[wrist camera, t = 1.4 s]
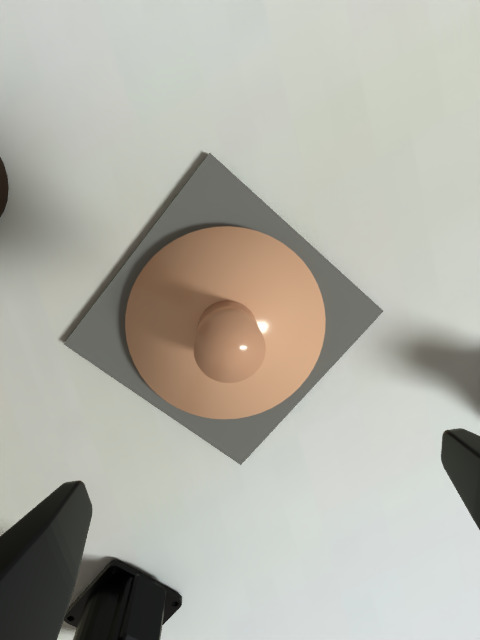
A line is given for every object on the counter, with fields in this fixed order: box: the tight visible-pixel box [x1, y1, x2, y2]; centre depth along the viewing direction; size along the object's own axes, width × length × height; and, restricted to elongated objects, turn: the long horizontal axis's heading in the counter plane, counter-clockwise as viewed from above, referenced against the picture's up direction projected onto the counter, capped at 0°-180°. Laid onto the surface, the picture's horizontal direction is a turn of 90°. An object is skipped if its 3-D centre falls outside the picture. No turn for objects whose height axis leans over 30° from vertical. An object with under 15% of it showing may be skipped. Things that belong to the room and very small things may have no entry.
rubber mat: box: [64, 153, 383, 465], centre depth 21 cm, size 14×14×1 cm
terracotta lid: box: [125, 226, 326, 419], centre depth 19 cm, size 12×12×4 cm
